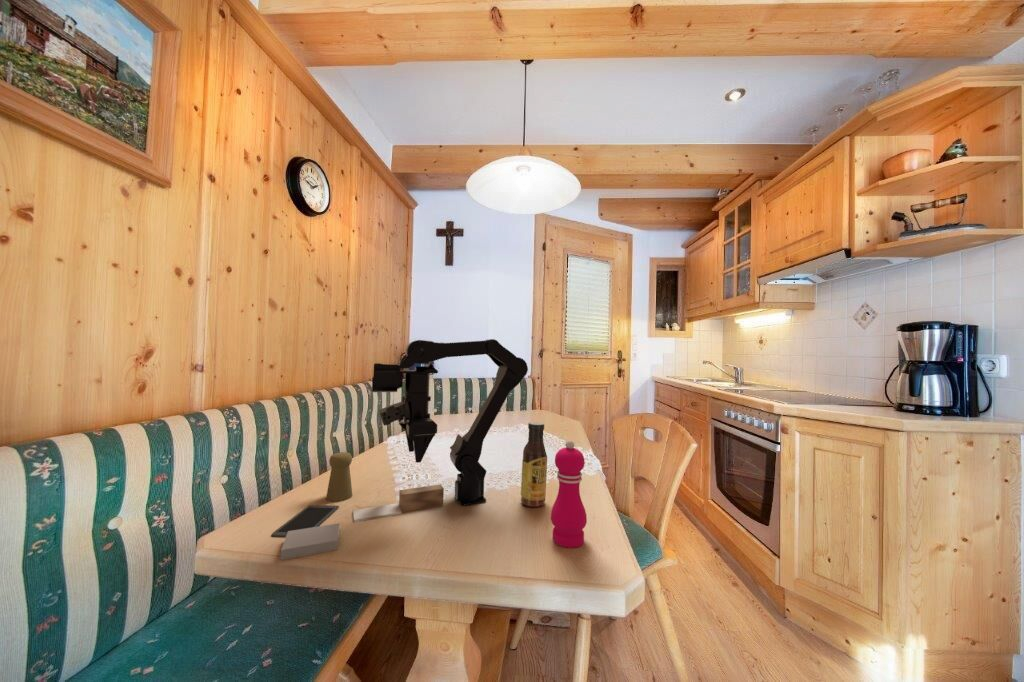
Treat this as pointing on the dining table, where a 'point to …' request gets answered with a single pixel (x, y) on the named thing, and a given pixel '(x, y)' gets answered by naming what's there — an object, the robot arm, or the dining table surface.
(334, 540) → the tile
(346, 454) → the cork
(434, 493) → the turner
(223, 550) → the dining table surface
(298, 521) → the cell phone
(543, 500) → the sauce bottle
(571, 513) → the pepper mill
